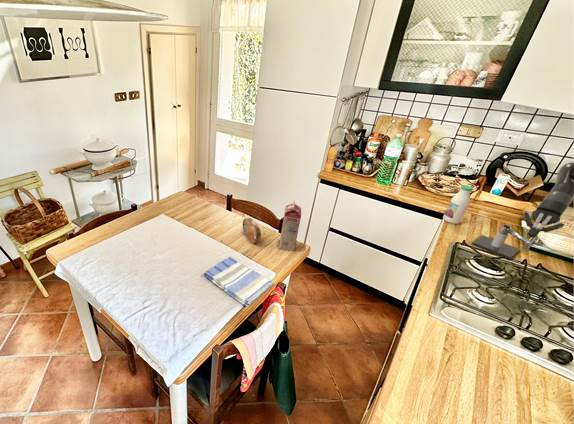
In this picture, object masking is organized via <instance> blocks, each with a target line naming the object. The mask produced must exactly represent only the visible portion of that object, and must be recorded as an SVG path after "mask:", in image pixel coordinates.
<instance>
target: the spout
mask: <svg viewBox="0 0 574 424" xmlns="http://www.w3.org/2000/svg"><path fill="white" fill-rule="evenodd" d="M498 231H499V233H501V234H503V235H508V236H509V235H511V236H513V237H514V238H516V239H518V240H519V241H521V242H522V243H524V244H523V245H522V246H521V248H522V249H524V250H530V248H531V247H532V245H533V241H531V240H530V239H528V238H527V237H525V236H523V235H522V234H519V233H518V232H516V231H515V230H514V229H513V230H512V227H511V226H510V225H507V224H504V225H501V227H500V228H499V230H498Z"/></svg>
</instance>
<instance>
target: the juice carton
mask: <svg viewBox="0 0 574 424" xmlns="http://www.w3.org/2000/svg"><path fill="white" fill-rule="evenodd" d="M295 201H296V200H295V199H294V200H293V203H289V204H286V205H285V208H284V215H283V220H282V225H281V232H280V237H279V238H280V239H279V246H278V248H279V249H282V250H286V251H287V250H288V251H293V252H294V251H295V249H296V243H297V239H298V234H299V229H300V224H301V219H302V207H301V206H299V205H297V204H296V203H295Z"/></svg>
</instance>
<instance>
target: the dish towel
mask: <svg viewBox="0 0 574 424" xmlns="http://www.w3.org/2000/svg"><path fill="white" fill-rule="evenodd" d="M203 276H204V277H205V278H207V279H208V280H210V281H211V282H212V283H213V284H215V285H216V286H217V287H219V288H220V289H221V290H223V291H224V292H225V293H226V294H227V295H229V296H230V297H231V298H233V299H235V300H236V301H238V302H239V303H240V304H242V305H244V307H246V308H248V307H251V306H252V305H253V304H255V303H256V302H257V301H258V300H260V299H261V298H262V297H263V296H264V295H265V294H267V293H268V292H269V291H270V290H271V289H273V288H274V286H275V285H276V284H275V282H274V281H273V280H271V279H269V278H268V277H266V276H264V275H262V274H260V273H259V272H258V271H255V270H254V269H252V268H250V267H248V266H247V265H245V264H243V263H240V262H239V261H238V260H236V259H235V258H233V257H232V256H229V257H227V258H225V259H224V260H221V261H220V262H219V263H217V264H216V265H215V266H213V267H211V268H209V269H208V270H206V271H205V272H204V273H203Z"/></svg>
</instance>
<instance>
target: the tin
mask: <svg viewBox="0 0 574 424" xmlns="http://www.w3.org/2000/svg"><path fill="white" fill-rule="evenodd" d="M242 231H243V234H244V235H245V236H246V238H247V239H248V240H249V241H250V243H252V244H256V243H259V242H260V240H261V236H262V231H261V228H260V227H259V225H258V224H257V223H256V222H255V221H254V220H253V219H252V218H249V217H247V218H244V219H243V220H242Z"/></svg>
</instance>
